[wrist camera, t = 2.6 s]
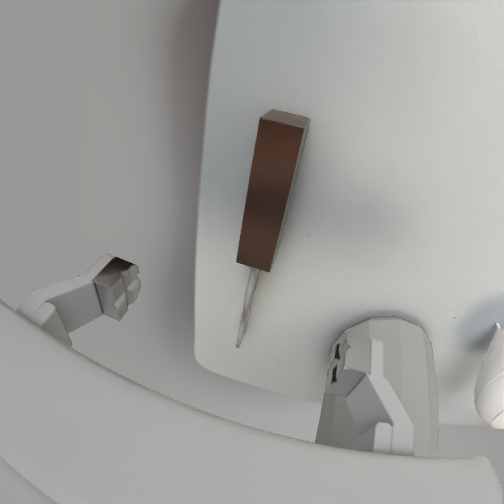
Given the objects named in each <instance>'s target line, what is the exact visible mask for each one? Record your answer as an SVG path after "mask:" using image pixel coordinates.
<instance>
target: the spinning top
mask: <svg viewBox="0 0 504 504" xmlns="http://www.w3.org/2000/svg"><path fill="white" fill-rule="evenodd" d="M496 327H497V331H496V333H495V335H494V337H493V339H492V341H491V343H490V345H489V347H488V350H487V352H486V355H485V357H484V360H483V362H482V365H481V368H480V371H479V374H478V378H477V381H476V386H475V392H474V402H475V406H476V410H477V412H478V414H479V415H480V417H481V418H482V419H483V420H484V421H485V422H487V423H488V424H490V425H492V427H493V428H497V429H504V328H500V325H499V323H498V322H497V323H496Z"/></svg>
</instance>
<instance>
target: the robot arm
mask: <svg viewBox="0 0 504 504" xmlns="http://www.w3.org/2000/svg"><path fill="white" fill-rule="evenodd" d="M138 273H139V269H138V266H137V265H135V264H132V263H130V262H128V261H125V260H123V259H120V258H118V257H115V256H112V255H110V254H108V253H107V254H104V255H103V256H101V258H99V259H98V260H97V261H96V262H95V264H93V265H92V266H91V268H89V269H88V271H86V273H85V274H84V275H83V276H76V277H73V278H70V279H68V280H64V281H62V282H59V283H56V284H53V285H51V286H48V287H45V288H42V289H40V290H37V291H34V292H33V293H32V294H31V295H30V296H29V297H28V298H27V299H26V300H25V301H24V302H23V303H22V304H21V305H20V307H19V308H18V309H17V310H16V311H15V310H14V309H13V308H11V307H10V306H9V305H7V304H6V303H5V302H3V301H2V300H1V299H0V504H502V500H503V489H502V488H503V487H502V482H501V480H500V478H499V476H498V474H497V472H496V470H495V469H494V467H493V465H492V464H491V463H490V461H489V460H488V459H487V458H485V457H464V458H463V457H461V458H442V457H441V458H440V457H416V456H414V433H415V426H414V424H413V422H412V420H411V419H410V417H409V415H408V413H407V412H406V410H405V408H404V406H403V405H402V403H401V401H400V399H399V398H398V396H397V394H396V393H395V391H394V389H393V387H392V386H391V384H390V382H389V381H388V379H387V378H384V345H383V341H380V340H376V339H372V338H369V337H365V336H361V335H357V334H353V333H349V332H344V333H343V334H342V336H341V338H340V343H339V344H337V345H336V346H335V348H334V350H333V352H332V354H331V357H330V361H329V367H328V368H329V369H330V371H331V372H330V374H329V375H328V377H327V381H326V387H325V392H326V393H329V394H333V395H337V396H341V397H345V400H346V403H347V405H348V408H349V410H350V413H351V415H352V418H353V421H354V423H355V426H356V429H357V431H358V434H359V437H358V438H357V439H355V440H354V441H353V442H351V443H350V444H348V445H347V446H346V449H345V448H339V447H333V446H328V445H323V444H318V443H313V442H308V441H303V440H299V439H295V438H291V437H286V436H283V435H279V434H275V433H271V432H267V431H264V430H261V429H257V428H254V427H250V426H247V425H244V424H241V423H237V422H234V421H231V420H228V419H225V418H222V417H219V416H216V415H214V414H211V413H208V412H205V411H203V410H200V409H197V408H195V407H192V406H189V405H187V404H184V403H182V402H179V401H177V400H174V399H172V398H169V397H167V396H165V395H163V394H160V393H158V392H156V391H153V390H151V389H149V388H147V387H145V386H143V385H141V384H138V383H136V382H134V381H132V380H130V379H128V378H126V377H124V376H122V375H120V374H118V373H116V372H114V371H112V370H110V369H108V368H106V367H105V366H102V365H101V364H99V363H97V362H95V361H93V360H92V359H90V358H88V357H86V356H85V355H83V354H81V353H79V352H78V351H76V350H74V349H73V348H71V346H72V342H71V340H70V338H69V336H68V333H70V332H72V331H74V330H76V329H78V328H79V327H81V326H83V325H85V324H87V323H89V322H91V321H93V320H94V319H96V318H98V317H100V316H102V315H103V314H105V315H107V316H109V317H111V318H114V319H116V320H118V321H120V320H121V319H122V317H123V316H124V315H125V313H126V312H127V311H128V305H129V304H131V303H133V302H134V301H135V300H136V299H137V297H138V295H139V292H140V287H141V283H140V280H139V278H138V277H137V275H138Z"/></svg>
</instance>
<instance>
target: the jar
mask: <svg viewBox="0 0 504 504" xmlns="http://www.w3.org/2000/svg"><path fill="white" fill-rule="evenodd" d="M344 332H349V333H353V334H357V335H361V336H365V337H369V338H372V339H376V340H380V341H383V345H384V378H387V379H388V381H389V382H390V384H391V386H392V387H393V389H394V391H395V393H396V394H397V396H398V398H399V399H400V401H401V403H402V405H403V406H404V408H405V410H406V412H407V413H408V415H409V417H410V419H411V420H412V422H413V424H414V426H415V433H414V456H416V457H439V425H438V424H439V420H438V400H437V386H436V375H435V365H434V357H433V349H432V343H431V341H430V340H429V338H428V336H427V335H426V333H425V332H424V330H423V329H422V328H421V327H419V326H418V325H416V324H414V323H411V322H408V321H406V320H403V319H401V318H398V317H395V316H393V317H372V318H369V319H367V320H365V321H363V322H360V323H358V324H356V325H353V326H351V327H350V328H348V329H347V330H345V331H344ZM344 332H343V333H344ZM343 333H342V334H343ZM342 334H341V336H342ZM341 336H340V337H339V338H338V339H337V341H336V342H335V343H334V344H333V346H332V347H331V354H332V352H333V350H334V348H335V346H336V345H337V344H339V343H340V338H341ZM331 354H330V357H331ZM330 372H331V371H330V369H329V368H328V374H327V377H328V375H329V374H330ZM326 381H327V380H326ZM325 387H326V386H325ZM358 437H359V434H358V431H357V429H356V426H355V423H354V421H353V418H352V415H351V413H350V410H349V408H348V405H347V403H346V400H345V397H341V396H337V395H333V394H329V393H326V392H324V398H323V404H322V409H321V415H320V420H319V425H318V430H317V435H316V440H315V443H318V444H323V445H328V446H333V447H339V448H345V449H346V446H347V445H348V444H350V443H351V442H353V441H354V440H355V439H357V438H358Z"/></svg>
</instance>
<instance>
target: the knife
mask: <svg viewBox="0 0 504 504" xmlns="http://www.w3.org/2000/svg"><path fill="white" fill-rule="evenodd" d="M309 121H310V119H309V118H306V117H302V116H298V115H294V114H290V113H286V112H281V111H277V110H271V111H269V112H268V113H266V114H265V115H263V116H262V117H261V118H260V120H259V126H258V132H257V138H256V144H255V150H254V155H253V161H252V167H251V173H250V179H249V185H248V191H247V198H246V204H245V210H244V216H243V222H242V228H241V235H240V241H239V247H238V254H237V260H236V262H237V263H240V264H243V265H247V266H250V267H252V271H251V276H250V281H249V286H248V291H247V296H246V300H245V305H244V310H243V315H242V320H241V325H240V330H239V335H238V339H237V344H236V347H237V348H239V346H240V344H241V341H242V339H243V336H244V334H245V331H246V326H247V322H248V318H249V313H250V309H251V305H252V300H253V296H254V292H255V287H256V283H257V278H258V274H259V269H260V270H263V271H266V272H270V270H271V267H272V264H273V262H274V259H275V256H276V254H277V251H278V248H279V244H280V240H281V236H282V233H283V229H284V225H285V221H286V217H287V213H288V209H289V205H290V201H291V197H292V193H293V188H294V184H295V180H296V176H297V172H298V168H299V164H300V160H301V155H302V151H303V147H304V143H305V138H306V134H307V130H308V125H309Z"/></svg>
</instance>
